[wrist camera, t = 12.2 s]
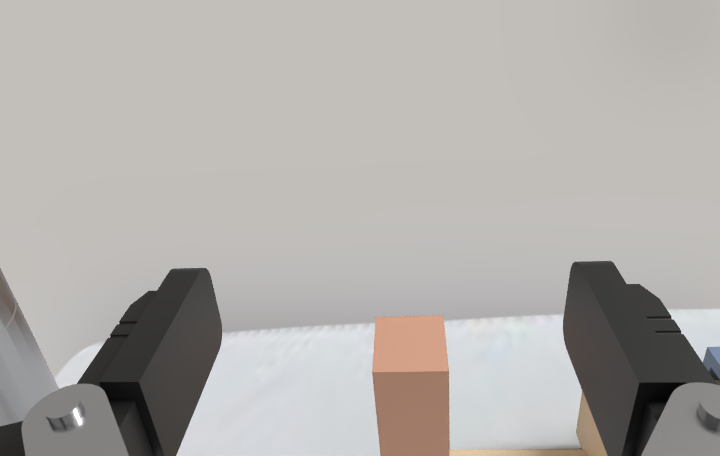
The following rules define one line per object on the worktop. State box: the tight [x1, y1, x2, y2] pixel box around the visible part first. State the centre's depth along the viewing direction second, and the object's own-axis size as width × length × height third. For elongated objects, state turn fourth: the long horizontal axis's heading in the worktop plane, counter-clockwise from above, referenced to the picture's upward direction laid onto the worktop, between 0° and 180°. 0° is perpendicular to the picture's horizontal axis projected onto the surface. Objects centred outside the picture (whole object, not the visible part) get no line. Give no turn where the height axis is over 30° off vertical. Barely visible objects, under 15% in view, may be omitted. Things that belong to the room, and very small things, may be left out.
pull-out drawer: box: [372, 316, 720, 456], centre depth 29 cm, size 23×9×12 cm, turn 86°
